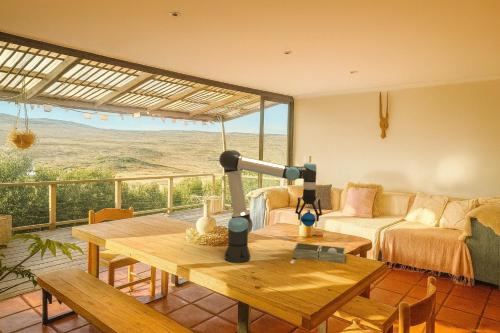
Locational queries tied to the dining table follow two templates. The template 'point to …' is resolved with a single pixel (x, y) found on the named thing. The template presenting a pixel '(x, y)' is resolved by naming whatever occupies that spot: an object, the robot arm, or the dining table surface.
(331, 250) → the ball
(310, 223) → the ornament
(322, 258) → the two-compartment wooden tray
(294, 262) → the card
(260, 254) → the dining table surface
